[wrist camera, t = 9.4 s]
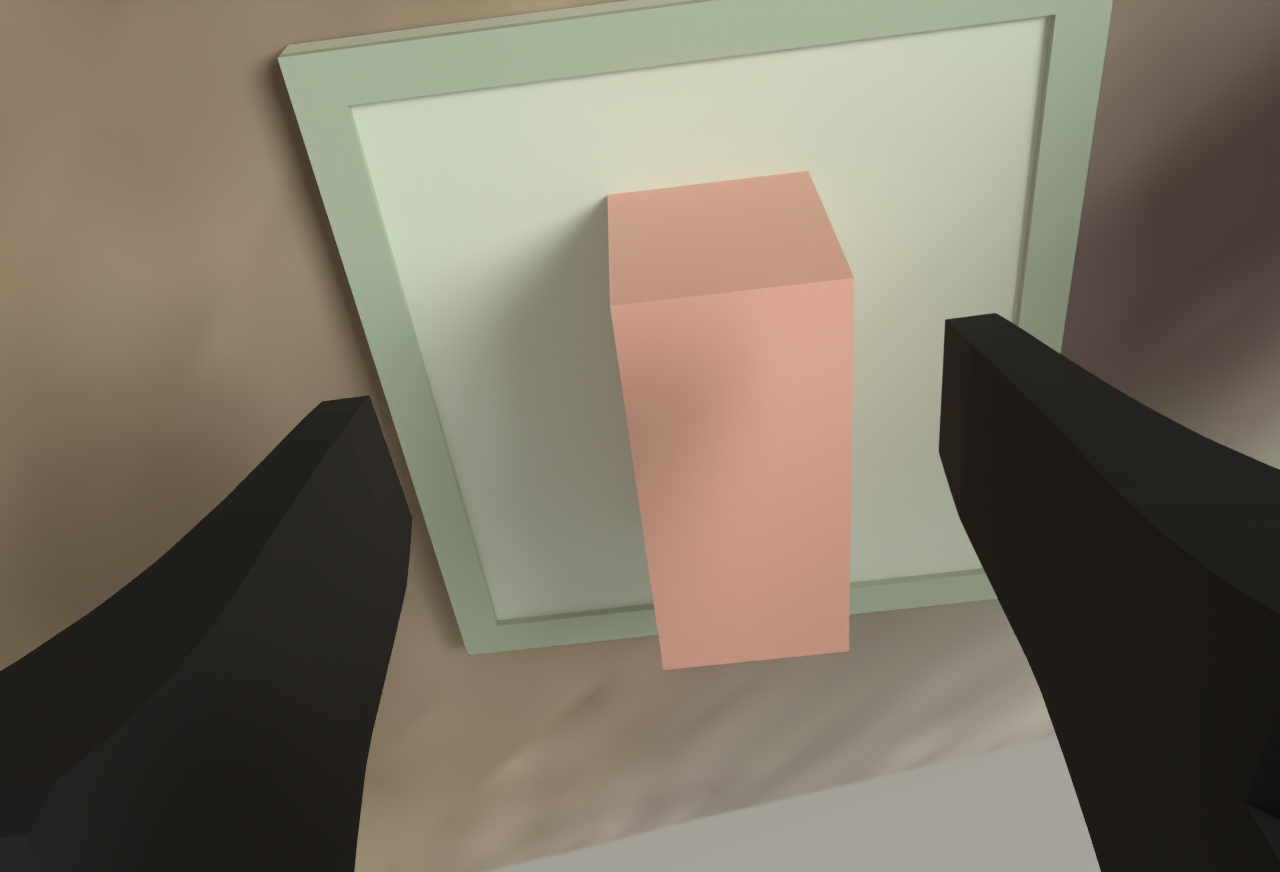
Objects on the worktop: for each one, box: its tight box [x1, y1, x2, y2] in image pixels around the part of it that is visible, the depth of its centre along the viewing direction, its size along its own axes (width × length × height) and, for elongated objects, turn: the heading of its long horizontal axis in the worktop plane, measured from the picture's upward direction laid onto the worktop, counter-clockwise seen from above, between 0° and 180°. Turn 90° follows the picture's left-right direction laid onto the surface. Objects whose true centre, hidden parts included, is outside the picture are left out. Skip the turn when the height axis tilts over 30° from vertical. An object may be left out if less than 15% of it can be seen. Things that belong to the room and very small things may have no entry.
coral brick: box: [607, 171, 854, 670], centre depth 21 cm, size 4×9×4 cm, turn 6°
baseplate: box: [278, 0, 1113, 655], centre depth 23 cm, size 15×16×1 cm
